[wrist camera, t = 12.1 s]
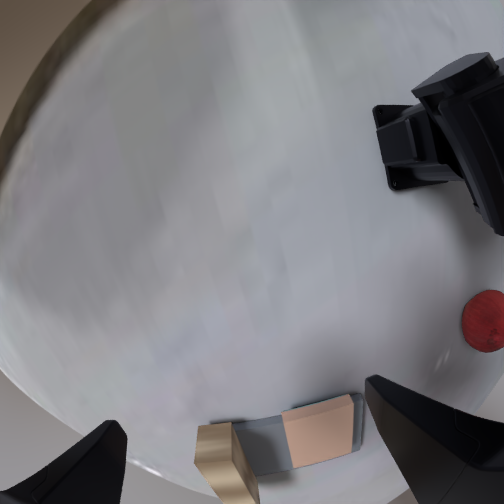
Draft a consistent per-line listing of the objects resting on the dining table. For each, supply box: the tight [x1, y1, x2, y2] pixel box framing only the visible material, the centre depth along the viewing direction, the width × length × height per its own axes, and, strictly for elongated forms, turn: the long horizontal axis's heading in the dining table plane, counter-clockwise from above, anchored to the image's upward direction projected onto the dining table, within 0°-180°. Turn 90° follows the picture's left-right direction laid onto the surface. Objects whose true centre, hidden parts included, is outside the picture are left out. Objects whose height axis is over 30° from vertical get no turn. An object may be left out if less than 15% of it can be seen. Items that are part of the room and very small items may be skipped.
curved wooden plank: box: [194, 422, 260, 504], centre depth 20 cm, size 12×3×4 cm, turn 12°
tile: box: [281, 394, 354, 468], centre depth 21 cm, size 6×2×8 cm
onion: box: [462, 290, 504, 353], centre depth 18 cm, size 6×6×8 cm
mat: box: [232, 393, 363, 476], centre depth 23 cm, size 15×9×1 cm, turn 102°
